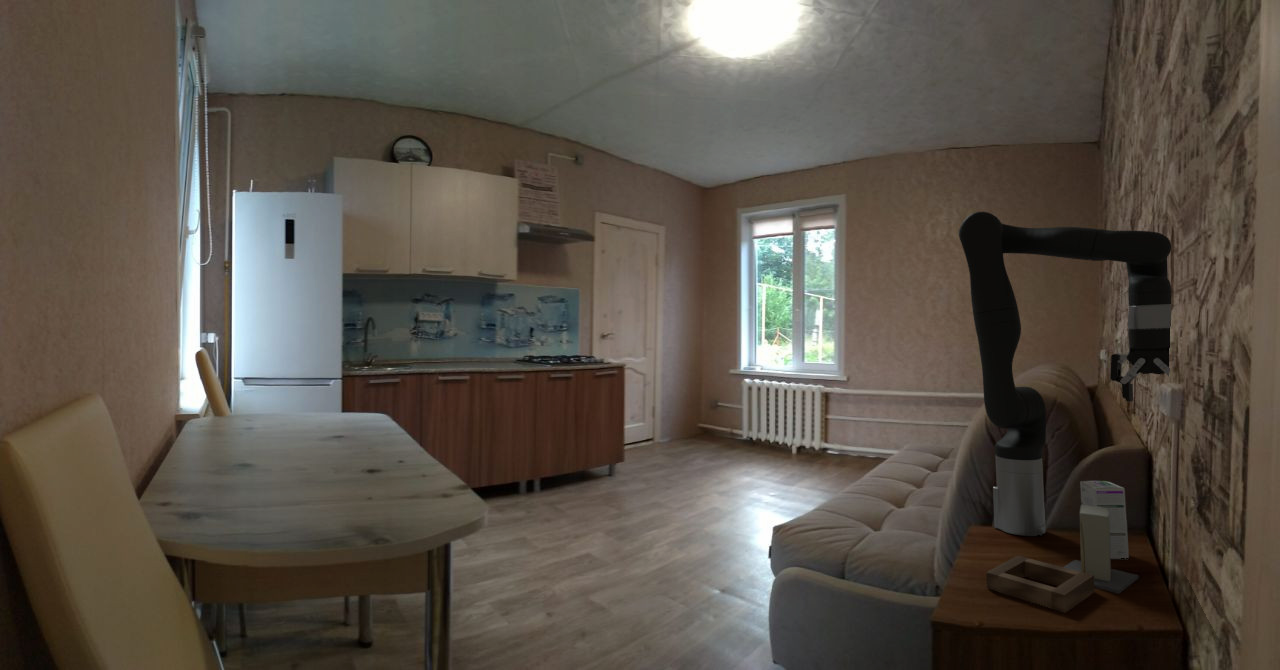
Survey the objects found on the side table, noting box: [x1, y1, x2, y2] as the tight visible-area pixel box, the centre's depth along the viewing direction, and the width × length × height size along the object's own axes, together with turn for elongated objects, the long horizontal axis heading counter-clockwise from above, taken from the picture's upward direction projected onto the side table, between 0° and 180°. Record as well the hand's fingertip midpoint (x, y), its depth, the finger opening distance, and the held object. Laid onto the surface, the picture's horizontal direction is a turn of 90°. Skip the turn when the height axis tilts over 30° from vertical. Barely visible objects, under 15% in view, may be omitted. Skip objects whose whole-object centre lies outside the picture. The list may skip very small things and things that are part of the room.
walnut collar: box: [985, 555, 1095, 614], centre depth 106 cm, size 12×12×3 cm
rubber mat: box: [1063, 559, 1139, 595], centre depth 111 cm, size 10×10×1 cm
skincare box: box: [1079, 504, 1112, 582], centre depth 111 cm, size 6×4×12 cm
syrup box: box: [1079, 480, 1130, 560], centre depth 121 cm, size 6×6×14 cm
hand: (1154, 402), depth 126 cm, fingers open, 8 cm apart
